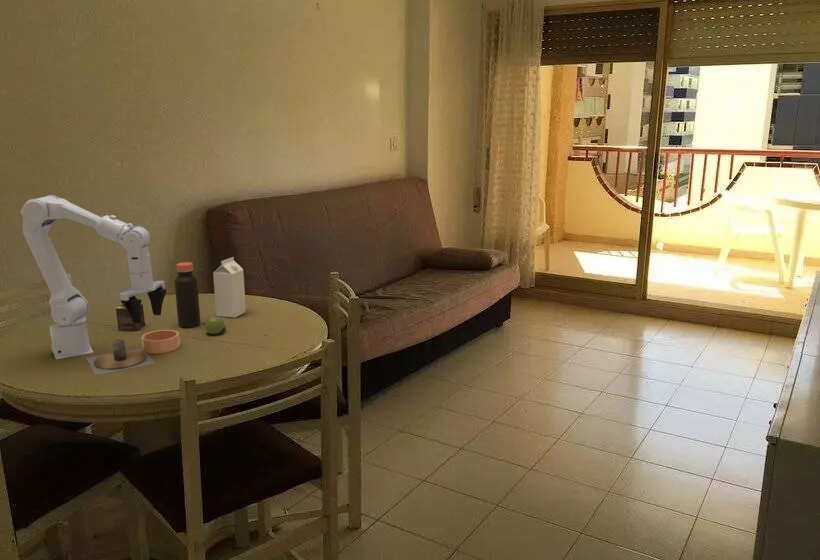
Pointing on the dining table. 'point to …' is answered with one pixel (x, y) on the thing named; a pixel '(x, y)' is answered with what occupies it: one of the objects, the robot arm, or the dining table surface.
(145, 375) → the dining table surface
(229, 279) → the milk carton
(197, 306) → the bottle
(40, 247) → the robot arm
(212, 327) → the pear
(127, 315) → the box
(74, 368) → the dining table surface
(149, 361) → the mat
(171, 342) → the bowl
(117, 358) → the lid
